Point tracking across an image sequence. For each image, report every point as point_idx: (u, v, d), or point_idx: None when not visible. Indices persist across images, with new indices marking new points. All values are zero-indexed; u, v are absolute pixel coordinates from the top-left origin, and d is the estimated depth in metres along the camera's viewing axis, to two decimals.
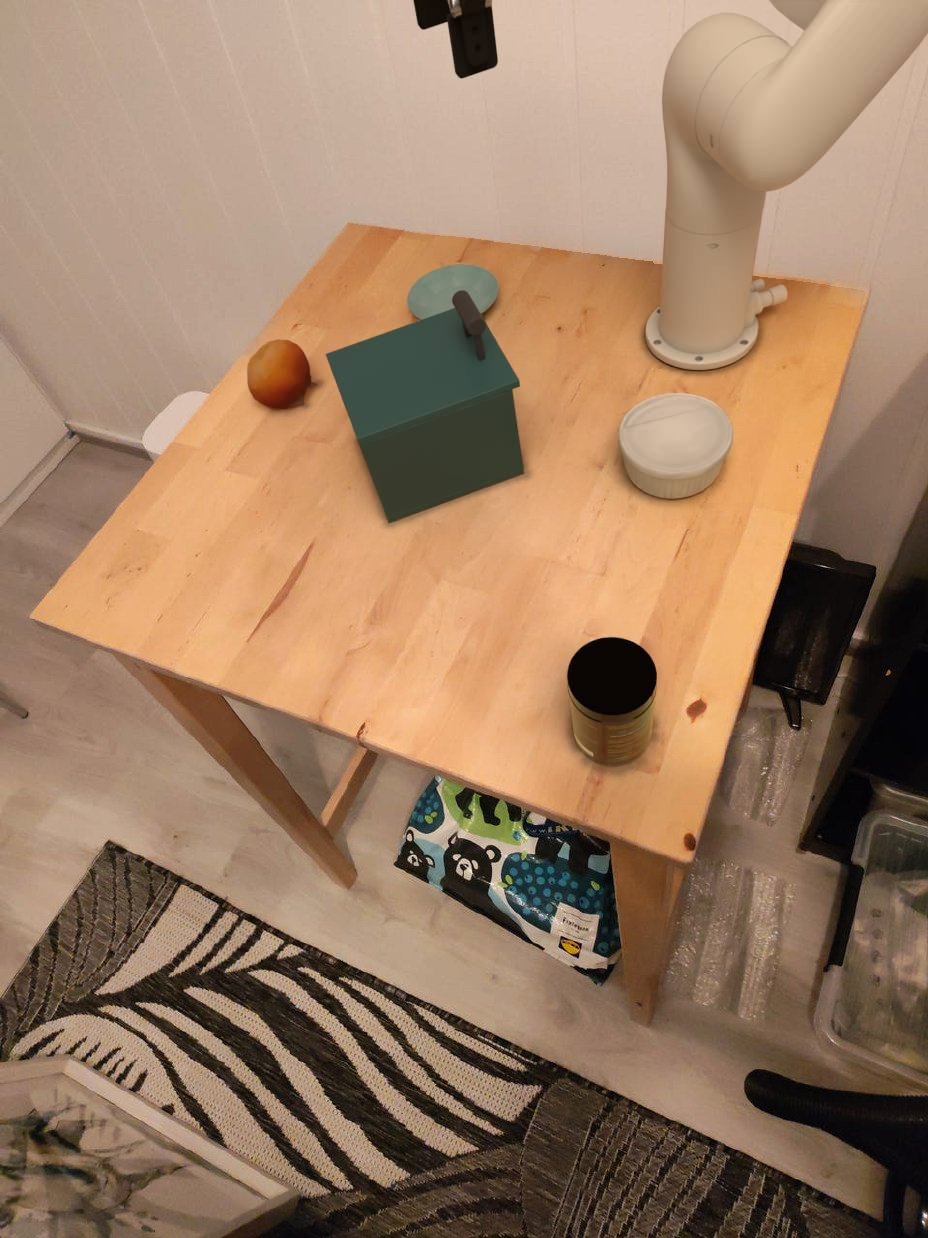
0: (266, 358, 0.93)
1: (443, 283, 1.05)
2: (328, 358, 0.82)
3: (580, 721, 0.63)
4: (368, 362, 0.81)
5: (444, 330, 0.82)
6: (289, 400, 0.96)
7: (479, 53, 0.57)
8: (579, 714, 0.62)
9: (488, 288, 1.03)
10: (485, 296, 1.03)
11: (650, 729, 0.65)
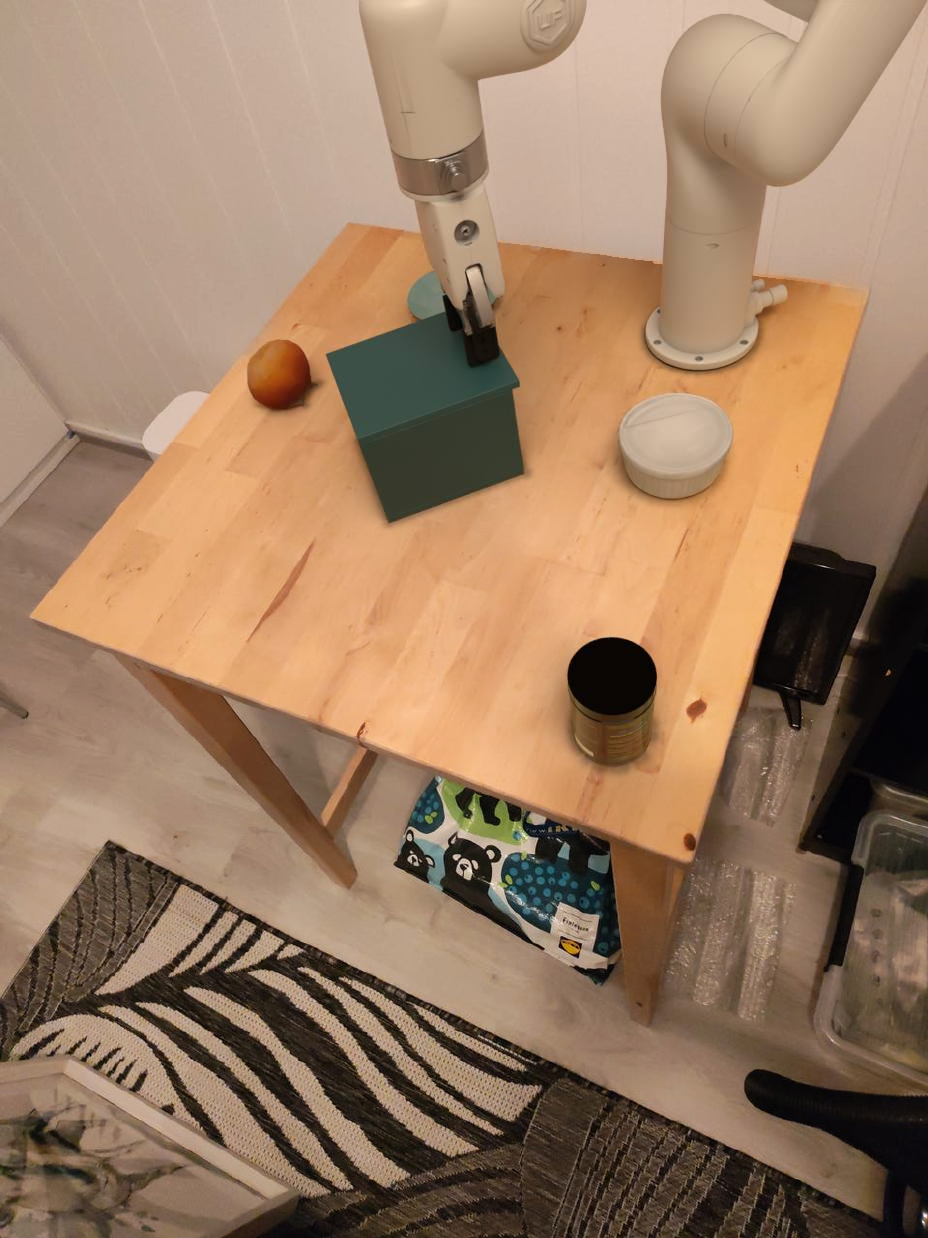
0: (266, 358, 0.93)
1: None
2: (328, 358, 0.82)
3: (580, 721, 0.63)
4: (368, 362, 0.81)
5: (444, 330, 0.82)
6: (289, 400, 0.96)
7: (485, 353, 0.76)
8: (579, 714, 0.62)
9: (488, 288, 1.03)
10: None
11: (650, 729, 0.65)
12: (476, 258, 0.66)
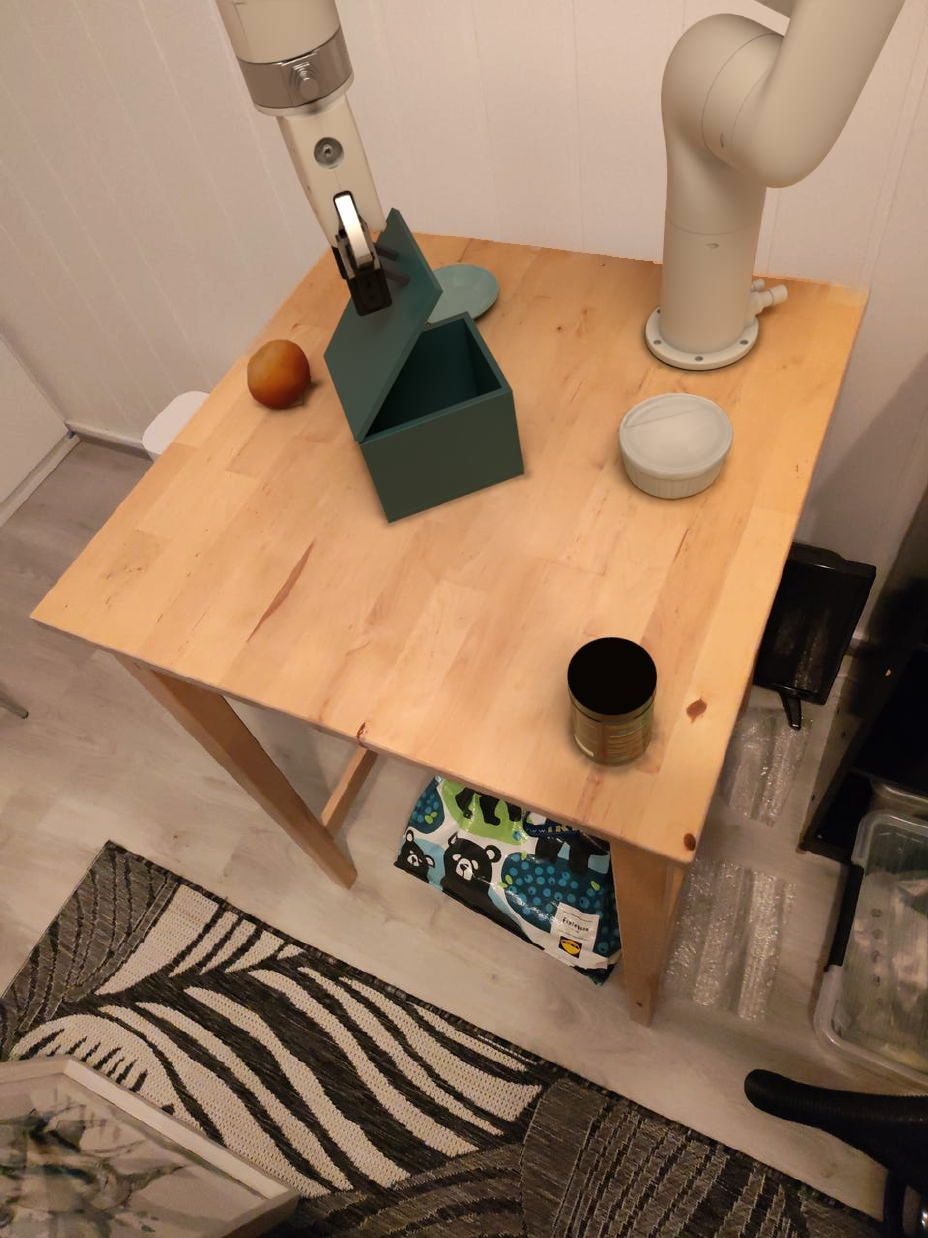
0: (266, 358, 0.93)
1: (443, 283, 1.05)
2: (325, 359, 0.82)
3: (580, 721, 0.63)
4: (345, 345, 0.78)
5: None
6: (289, 400, 0.96)
7: (374, 300, 0.68)
8: (579, 714, 0.62)
9: (488, 288, 1.03)
10: (485, 296, 1.03)
11: (650, 729, 0.65)
12: (344, 184, 0.58)
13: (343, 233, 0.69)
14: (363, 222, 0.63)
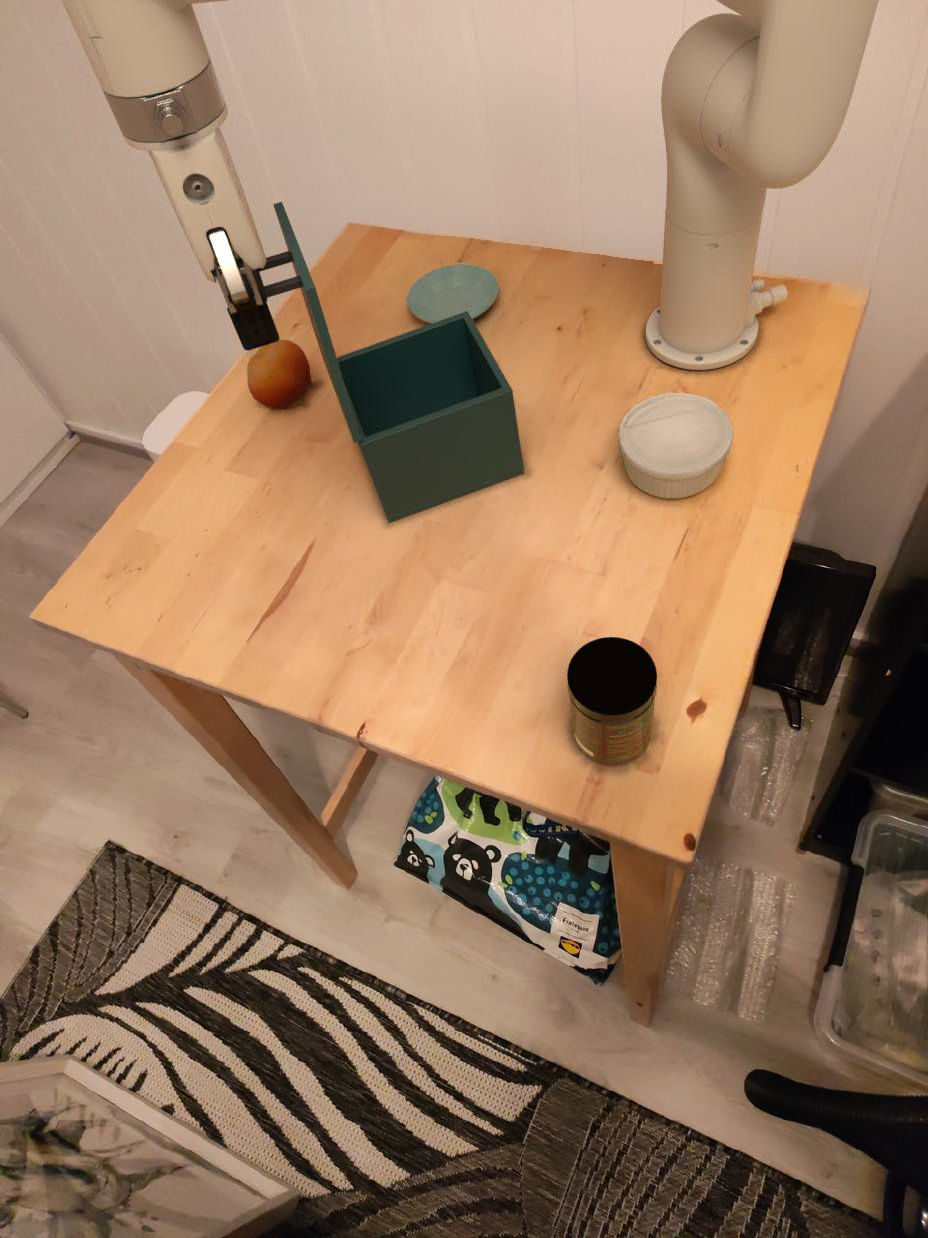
0: (266, 358, 0.93)
1: (443, 283, 1.05)
2: (324, 361, 0.82)
3: (580, 721, 0.63)
4: None
5: (293, 265, 0.71)
6: (289, 400, 0.96)
7: (259, 335, 0.67)
8: (579, 714, 0.62)
9: (488, 288, 1.03)
10: (485, 296, 1.03)
11: (650, 729, 0.65)
12: (217, 220, 0.58)
13: None
14: None
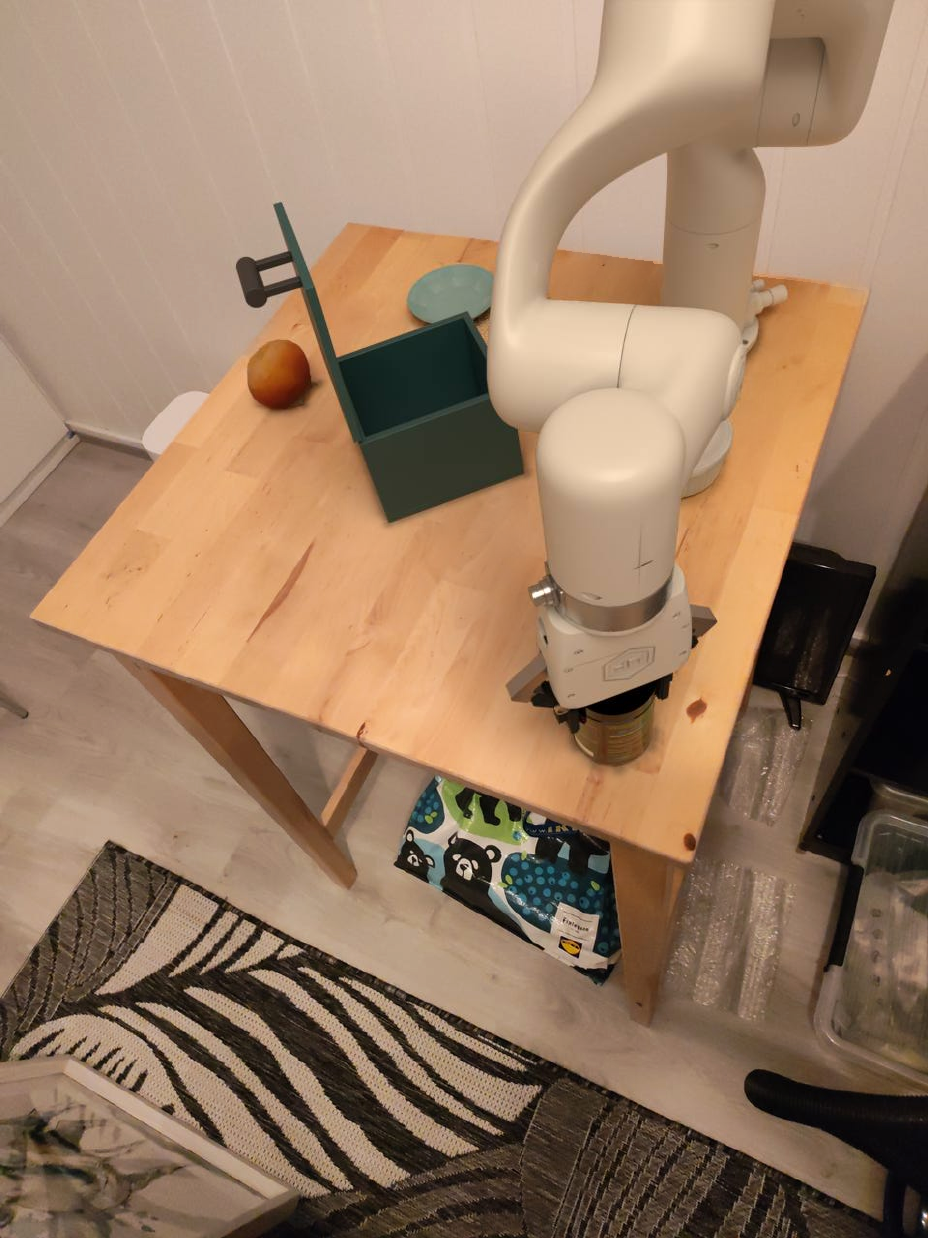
0: (266, 358, 0.93)
1: (443, 283, 1.05)
2: (324, 361, 0.82)
3: (580, 721, 0.63)
4: None
5: (293, 265, 0.71)
6: (289, 400, 0.96)
7: (556, 715, 0.63)
8: (579, 714, 0.62)
9: (488, 288, 1.03)
10: (485, 296, 1.03)
11: (650, 729, 0.65)
12: (544, 655, 0.54)
13: None
14: None
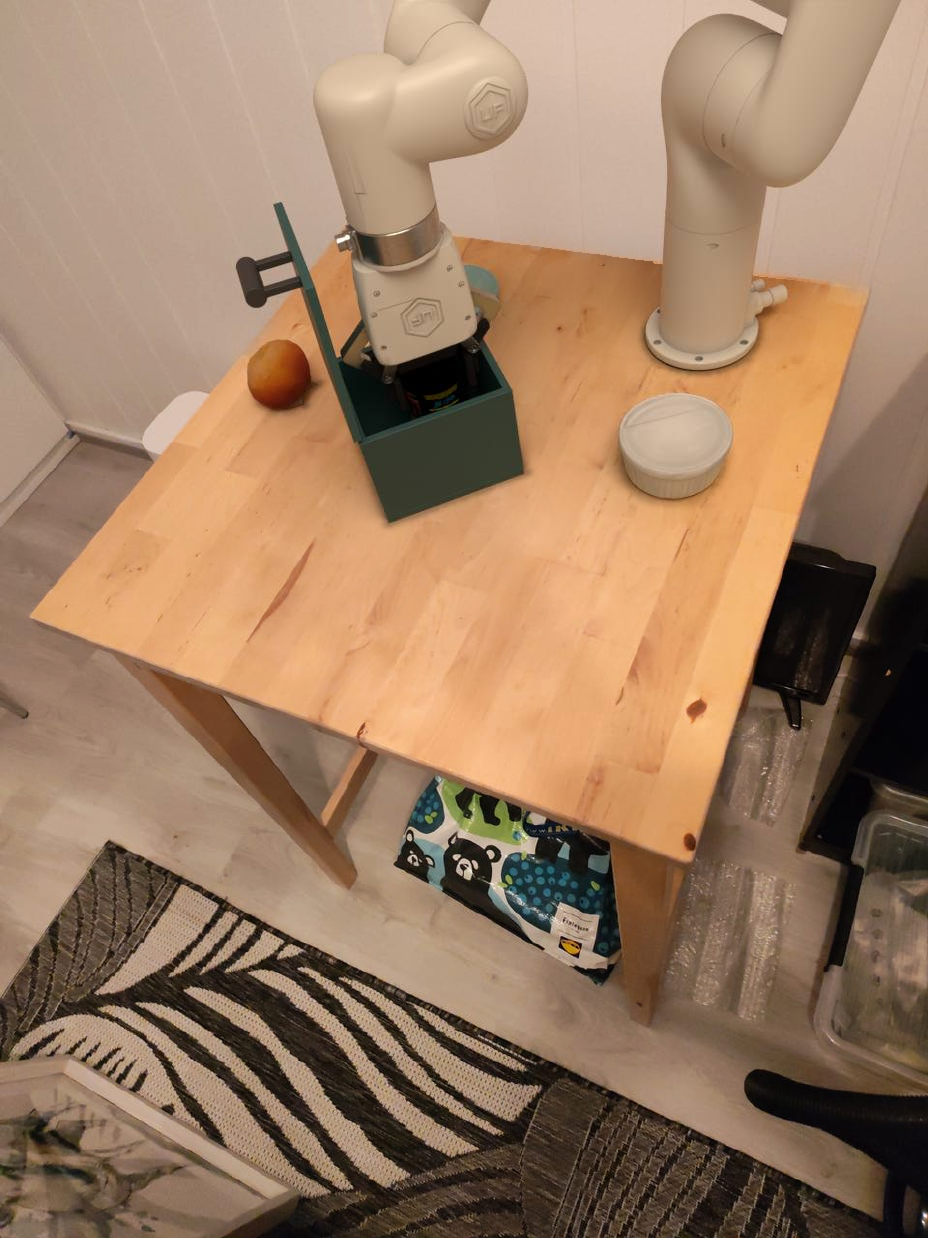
0: (266, 358, 0.93)
1: None
2: (324, 361, 0.82)
3: (408, 401, 0.81)
4: None
5: (293, 265, 0.71)
6: (289, 400, 0.96)
7: (389, 396, 0.81)
8: (405, 391, 0.80)
9: (488, 288, 1.03)
10: None
11: None
12: (360, 313, 0.72)
13: (460, 345, 0.79)
14: None
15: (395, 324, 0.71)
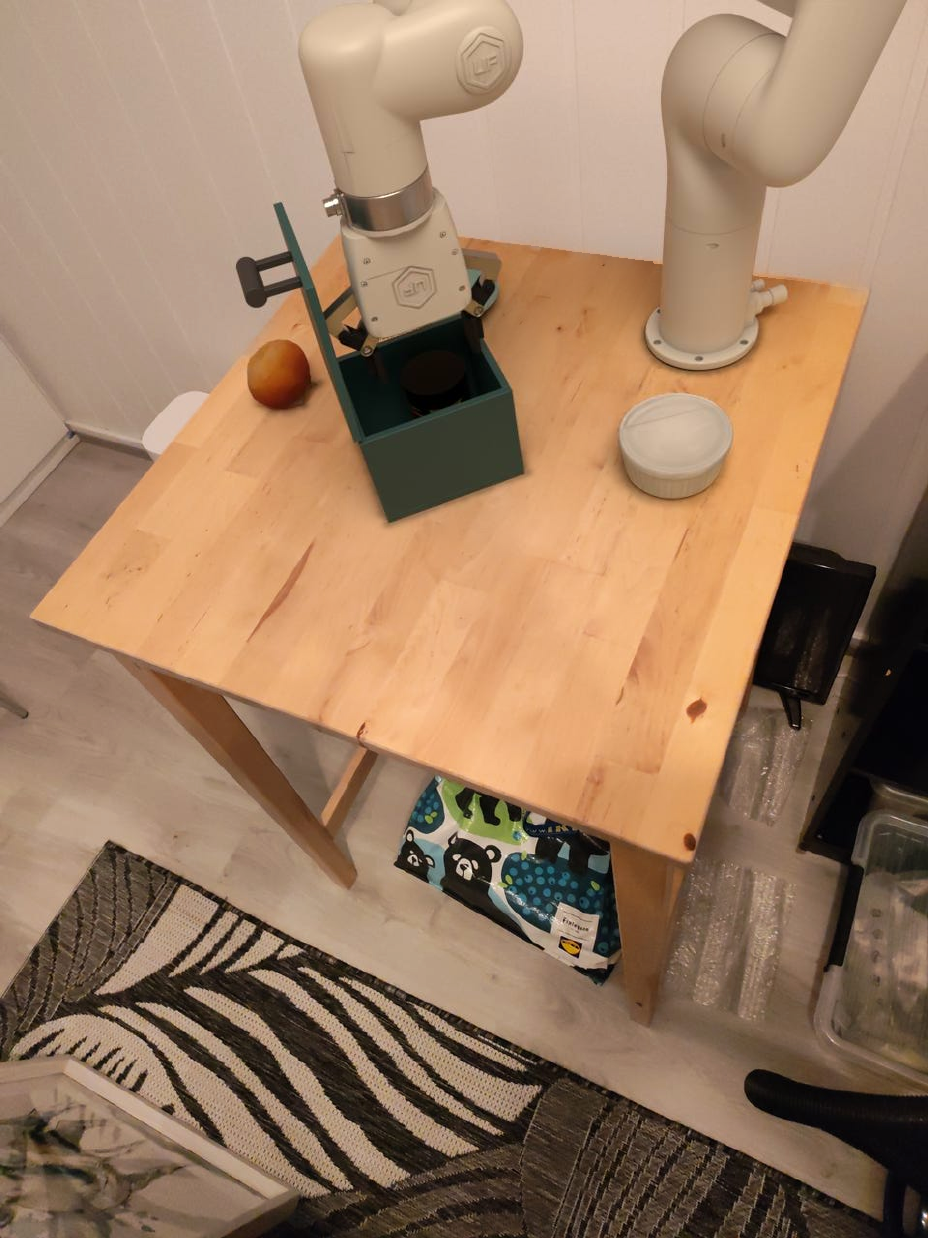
0: (266, 358, 0.93)
1: None
2: (324, 361, 0.82)
3: (413, 415, 0.83)
4: None
5: (293, 265, 0.71)
6: (289, 400, 0.96)
7: (369, 370, 0.78)
8: (411, 406, 0.82)
9: None
10: None
11: None
12: (350, 283, 0.70)
13: None
14: None
15: (386, 294, 0.69)
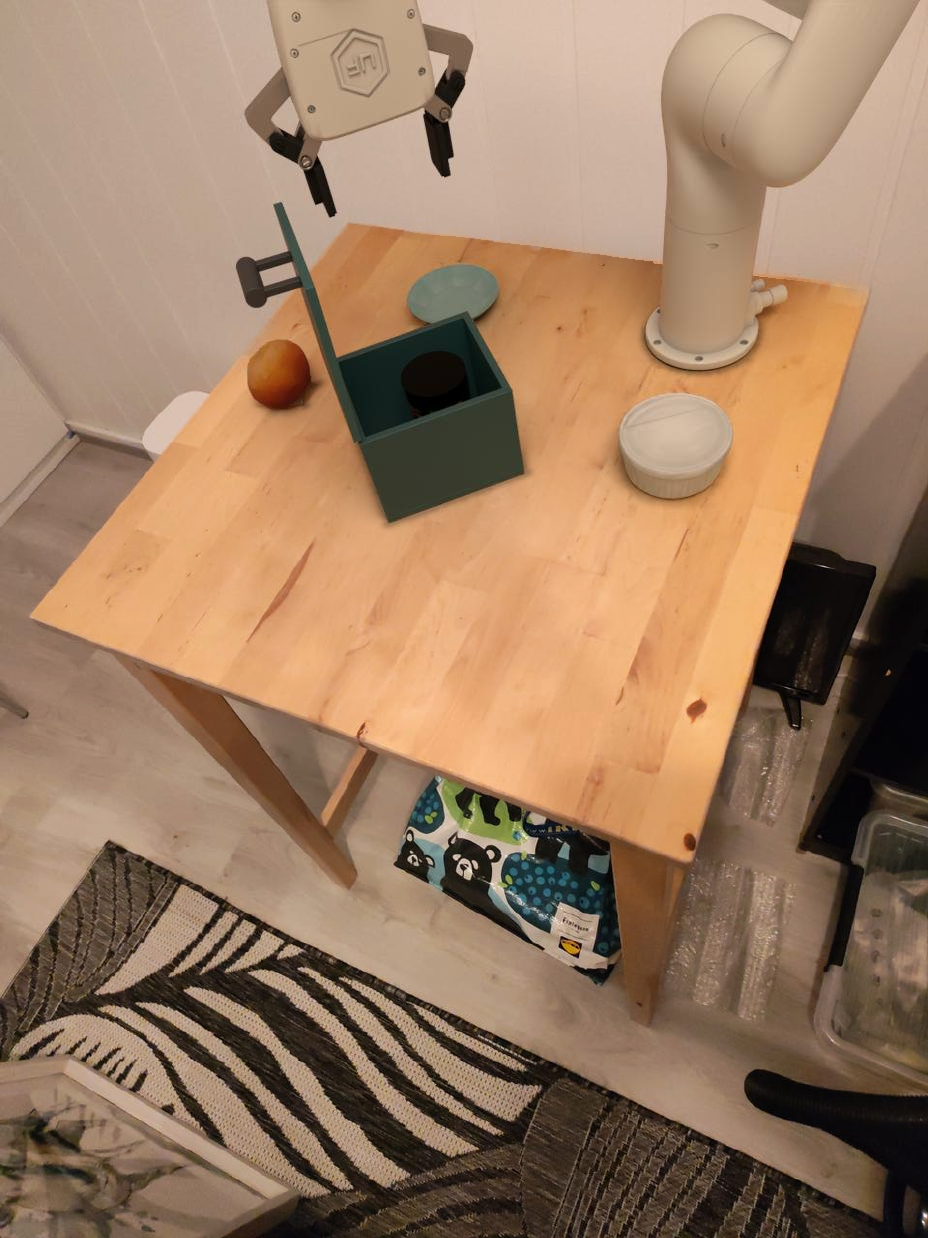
0: (266, 358, 0.93)
1: (443, 283, 1.05)
2: (324, 361, 0.82)
3: (414, 416, 0.83)
4: None
5: (293, 265, 0.71)
6: (289, 400, 0.96)
7: (312, 195, 0.63)
8: (411, 407, 0.82)
9: (488, 288, 1.03)
10: (485, 296, 1.03)
11: None
12: (280, 59, 0.55)
13: (428, 114, 0.61)
14: None
15: (324, 71, 0.54)
